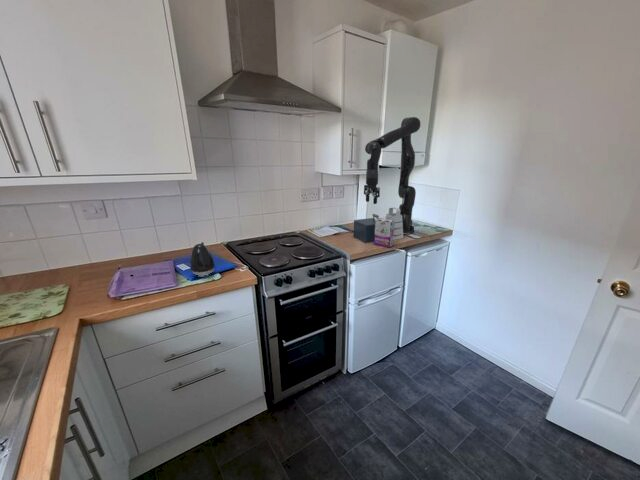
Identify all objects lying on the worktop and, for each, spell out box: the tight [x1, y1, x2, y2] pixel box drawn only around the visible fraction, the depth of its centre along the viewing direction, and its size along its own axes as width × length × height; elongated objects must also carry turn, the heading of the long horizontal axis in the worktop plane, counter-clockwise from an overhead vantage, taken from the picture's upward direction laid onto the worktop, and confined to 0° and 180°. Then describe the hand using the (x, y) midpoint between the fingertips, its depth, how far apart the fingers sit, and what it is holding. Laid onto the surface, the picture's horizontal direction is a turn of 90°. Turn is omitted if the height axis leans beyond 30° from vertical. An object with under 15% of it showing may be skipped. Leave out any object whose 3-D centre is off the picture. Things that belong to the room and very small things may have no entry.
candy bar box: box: [373, 217, 395, 248], centre depth 185 cm, size 11×5×16 cm, turn 58°
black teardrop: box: [189, 241, 216, 278], centre depth 137 cm, size 10×10×15 cm
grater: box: [385, 206, 404, 241], centre depth 201 cm, size 10×10×20 cm
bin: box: [352, 221, 375, 244], centre depth 199 cm, size 14×15×11 cm
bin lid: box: [353, 213, 380, 227], centre depth 196 cm, size 14×15×5 cm
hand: (371, 202), depth 192 cm, fingers open, 8 cm apart
